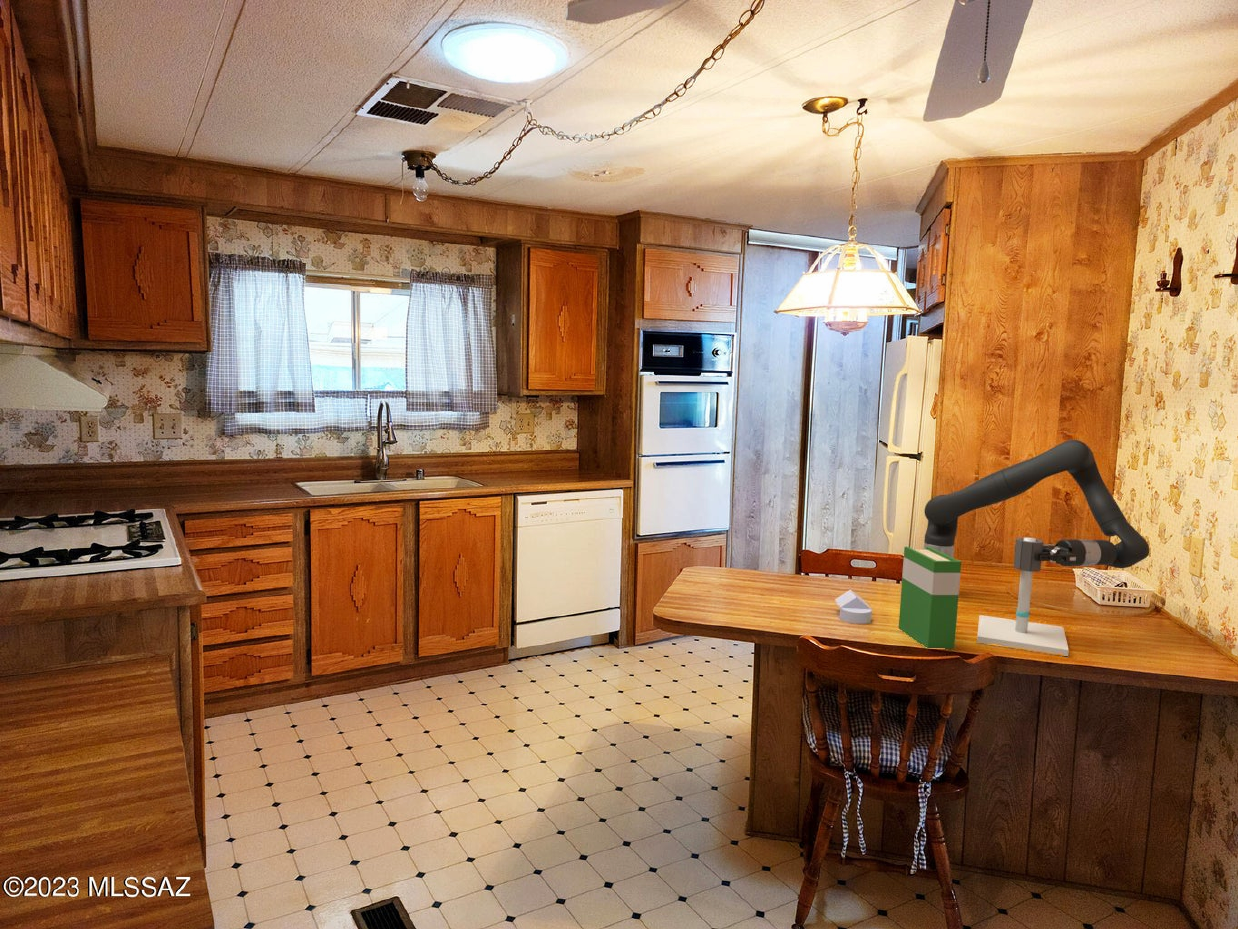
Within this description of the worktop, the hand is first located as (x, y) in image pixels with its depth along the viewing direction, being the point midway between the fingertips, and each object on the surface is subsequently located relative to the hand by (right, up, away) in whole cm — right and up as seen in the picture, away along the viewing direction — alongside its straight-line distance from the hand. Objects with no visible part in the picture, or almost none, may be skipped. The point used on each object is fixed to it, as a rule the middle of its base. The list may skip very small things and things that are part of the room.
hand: (1025, 553), depth 225 cm
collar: (+1, -4, +1) cm, 4 cm away
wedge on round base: (-42, -21, +18) cm, 51 cm away
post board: (0, -24, +3) cm, 24 cm away
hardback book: (-28, -24, +1) cm, 37 cm away
